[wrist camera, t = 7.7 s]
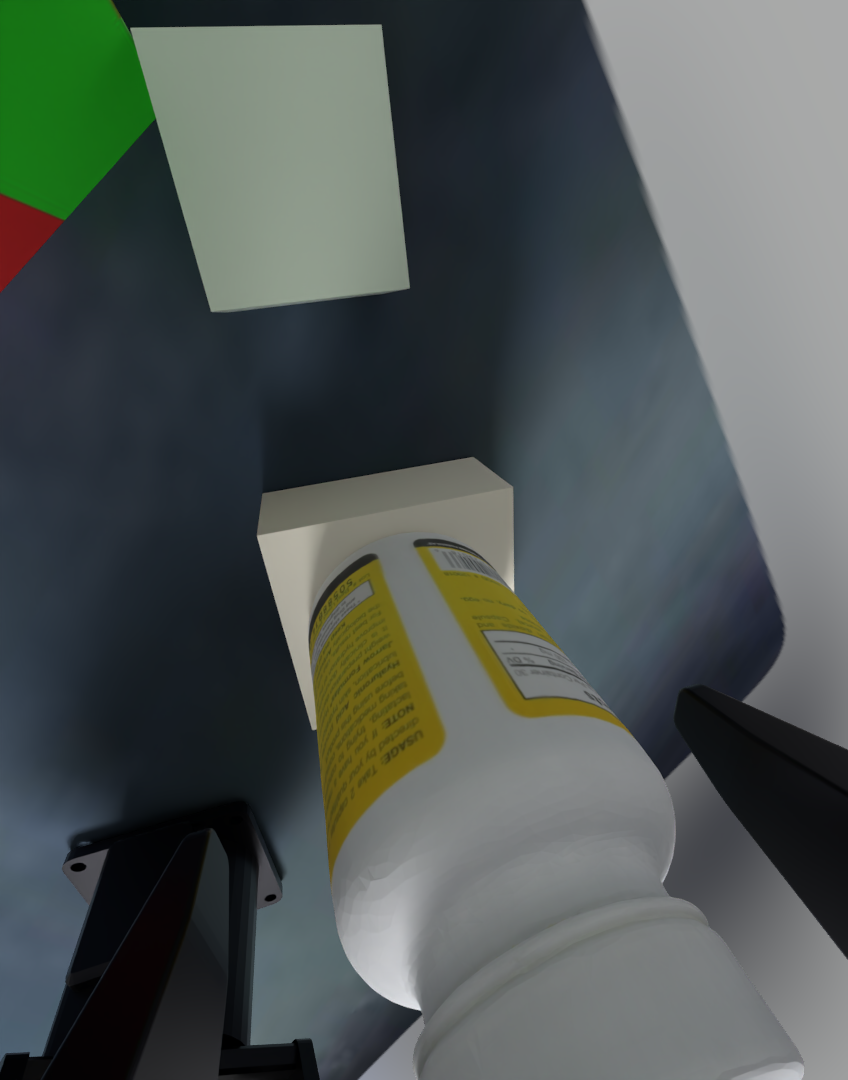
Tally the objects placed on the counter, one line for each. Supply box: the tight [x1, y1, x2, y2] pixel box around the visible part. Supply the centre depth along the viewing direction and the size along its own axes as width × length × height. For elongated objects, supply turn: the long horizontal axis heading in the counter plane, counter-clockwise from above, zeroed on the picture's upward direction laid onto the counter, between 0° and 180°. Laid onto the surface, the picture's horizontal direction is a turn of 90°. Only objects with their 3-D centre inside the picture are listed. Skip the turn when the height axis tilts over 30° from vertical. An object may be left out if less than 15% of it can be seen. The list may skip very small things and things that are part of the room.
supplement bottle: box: [308, 532, 804, 1080], centre depth 9 cm, size 5×5×10 cm
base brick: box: [257, 457, 514, 730], centre depth 14 cm, size 6×6×3 cm
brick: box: [130, 25, 410, 312], centre depth 10 cm, size 4×4×3 cm
